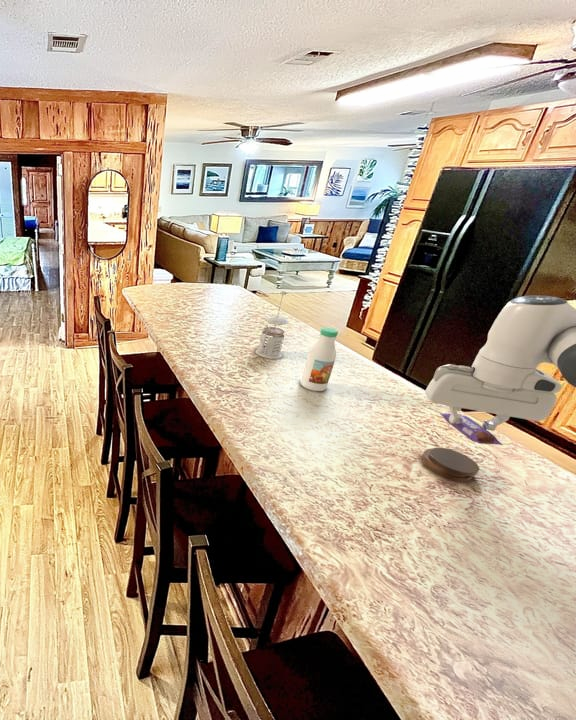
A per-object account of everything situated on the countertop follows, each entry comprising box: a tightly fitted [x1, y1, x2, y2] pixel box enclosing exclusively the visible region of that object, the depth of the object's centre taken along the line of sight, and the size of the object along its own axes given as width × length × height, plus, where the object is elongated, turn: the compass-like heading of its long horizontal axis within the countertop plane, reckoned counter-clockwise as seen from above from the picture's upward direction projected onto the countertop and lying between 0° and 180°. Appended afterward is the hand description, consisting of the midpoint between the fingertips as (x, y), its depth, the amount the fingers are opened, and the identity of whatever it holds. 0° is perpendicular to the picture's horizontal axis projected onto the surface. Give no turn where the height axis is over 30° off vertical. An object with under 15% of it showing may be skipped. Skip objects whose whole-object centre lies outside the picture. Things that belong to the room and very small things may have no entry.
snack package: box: [439, 412, 503, 446], centre depth 87 cm, size 12×2×5 cm
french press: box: [255, 290, 289, 360], centre depth 145 cm, size 10×12×25 cm
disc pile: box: [422, 447, 480, 483], centre depth 92 cm, size 10×10×3 cm
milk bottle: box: [300, 327, 339, 392], centre depth 124 cm, size 8×8×20 cm
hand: (470, 425), depth 87 cm, fingers closed on snack package, 5 cm apart
